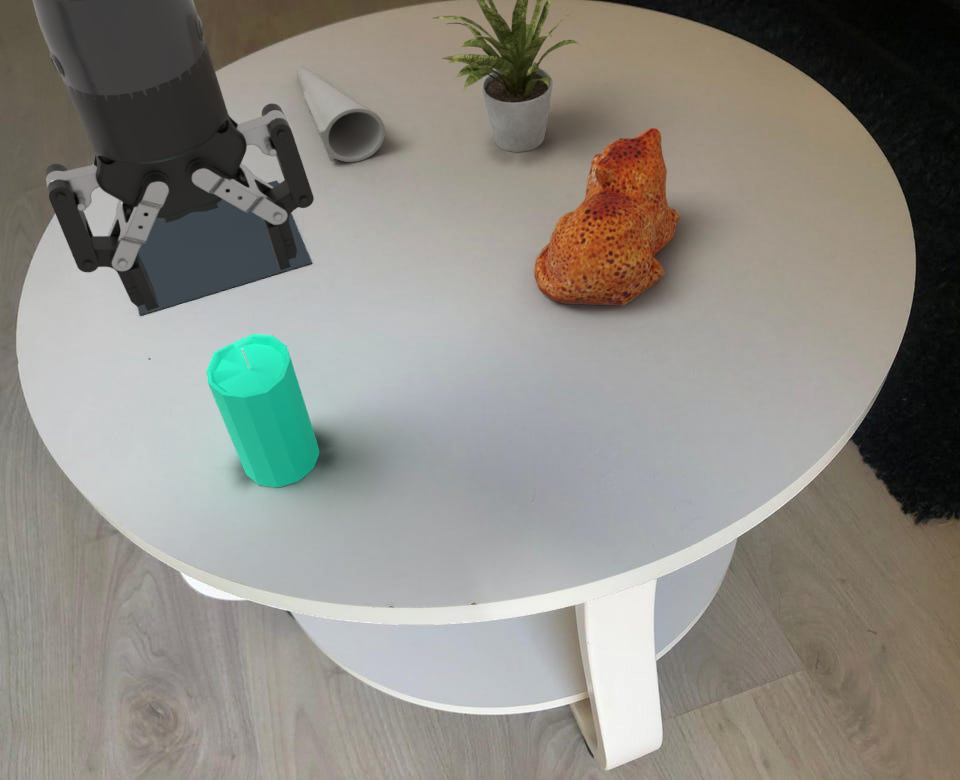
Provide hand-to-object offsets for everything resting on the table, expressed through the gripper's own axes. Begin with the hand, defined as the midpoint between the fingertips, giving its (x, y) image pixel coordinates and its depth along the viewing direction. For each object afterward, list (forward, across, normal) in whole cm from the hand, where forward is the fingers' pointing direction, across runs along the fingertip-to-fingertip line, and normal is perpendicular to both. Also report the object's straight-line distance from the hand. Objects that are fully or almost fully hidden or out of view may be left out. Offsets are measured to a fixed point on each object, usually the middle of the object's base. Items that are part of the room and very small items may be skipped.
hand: (217, 282), depth 63 cm
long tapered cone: (+18, -17, -44) cm, 51 cm away
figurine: (+18, -33, -10) cm, 39 cm away
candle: (+18, 0, 0) cm, 18 cm away
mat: (+18, 0, -28) cm, 33 cm away
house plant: (+18, -33, -32) cm, 49 cm away
